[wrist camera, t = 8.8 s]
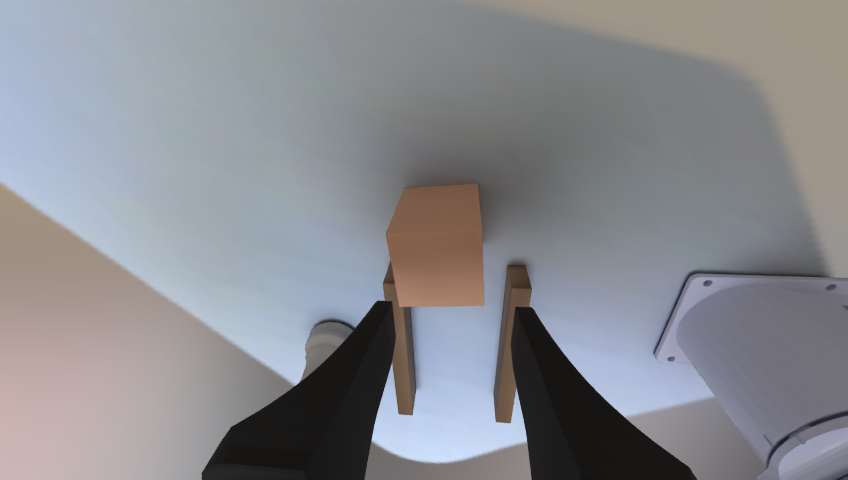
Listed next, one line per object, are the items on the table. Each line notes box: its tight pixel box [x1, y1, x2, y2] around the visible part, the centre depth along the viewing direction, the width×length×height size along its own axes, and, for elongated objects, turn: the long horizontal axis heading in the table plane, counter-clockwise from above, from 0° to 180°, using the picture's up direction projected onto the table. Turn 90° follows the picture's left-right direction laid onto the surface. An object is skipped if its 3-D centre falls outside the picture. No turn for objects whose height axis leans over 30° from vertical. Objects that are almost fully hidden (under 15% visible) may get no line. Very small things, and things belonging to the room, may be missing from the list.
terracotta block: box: [386, 183, 484, 307], centre depth 19 cm, size 4×4×6 cm
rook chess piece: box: [300, 322, 353, 382], centre depth 25 cm, size 4×4×8 cm
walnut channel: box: [383, 262, 532, 423], centre depth 26 cm, size 9×14×2 cm
